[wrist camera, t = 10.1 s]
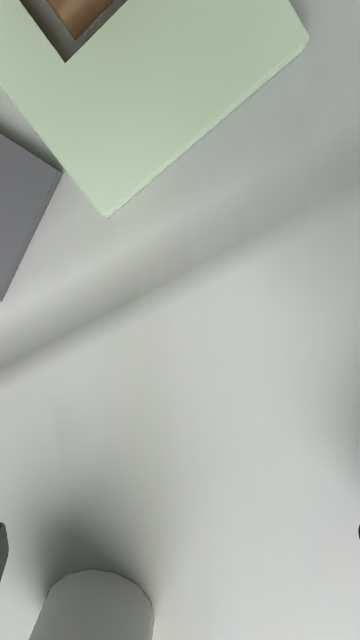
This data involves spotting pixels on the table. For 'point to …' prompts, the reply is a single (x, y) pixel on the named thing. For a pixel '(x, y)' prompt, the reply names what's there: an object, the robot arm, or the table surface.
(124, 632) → the cup
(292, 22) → the flange plate
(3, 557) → the robot arm
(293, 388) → the table surface
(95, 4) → the post
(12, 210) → the pad
